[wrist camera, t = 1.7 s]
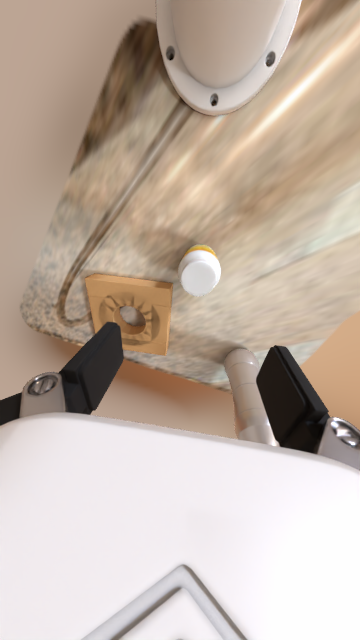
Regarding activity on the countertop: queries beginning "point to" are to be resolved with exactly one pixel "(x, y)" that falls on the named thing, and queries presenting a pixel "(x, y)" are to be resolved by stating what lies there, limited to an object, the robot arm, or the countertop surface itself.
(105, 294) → the socket pad
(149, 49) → the countertop surface
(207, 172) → the countertop surface
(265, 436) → the plastic bottle
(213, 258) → the supplement bottle
